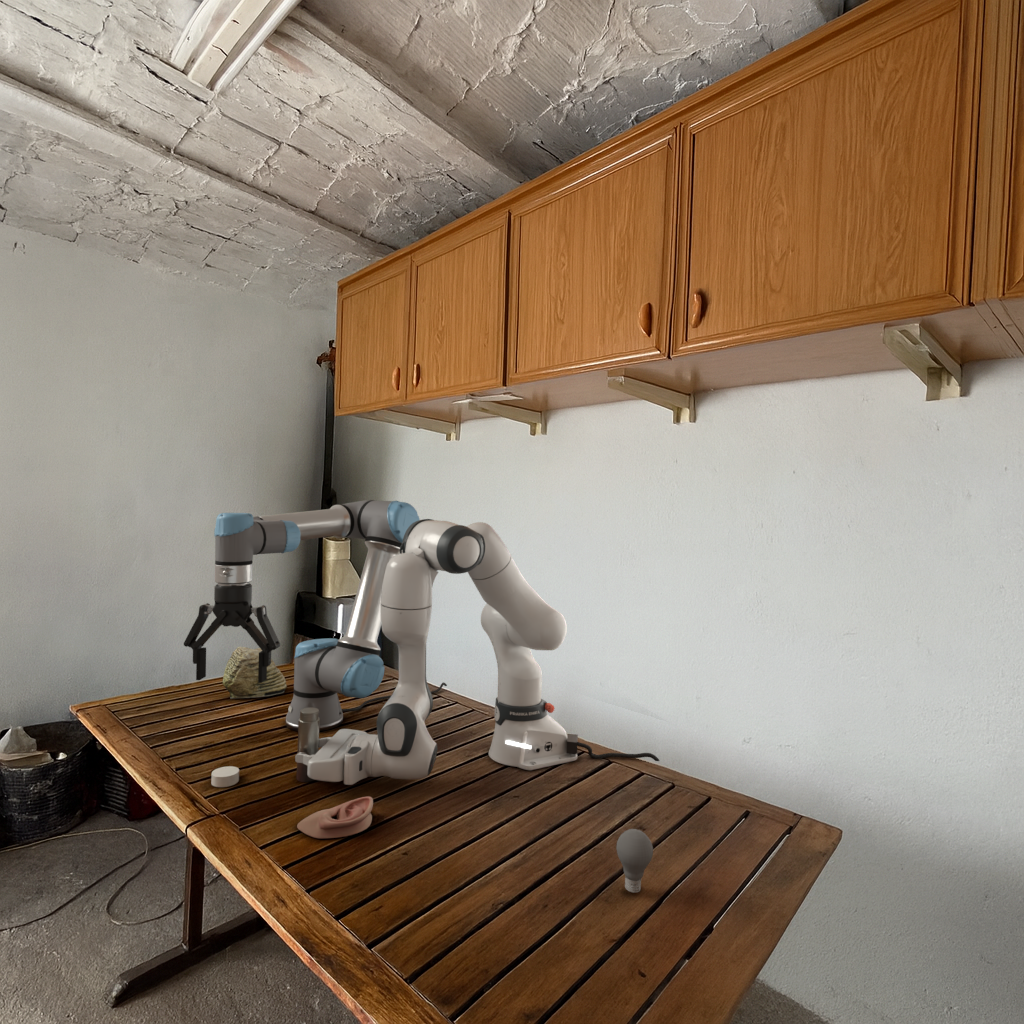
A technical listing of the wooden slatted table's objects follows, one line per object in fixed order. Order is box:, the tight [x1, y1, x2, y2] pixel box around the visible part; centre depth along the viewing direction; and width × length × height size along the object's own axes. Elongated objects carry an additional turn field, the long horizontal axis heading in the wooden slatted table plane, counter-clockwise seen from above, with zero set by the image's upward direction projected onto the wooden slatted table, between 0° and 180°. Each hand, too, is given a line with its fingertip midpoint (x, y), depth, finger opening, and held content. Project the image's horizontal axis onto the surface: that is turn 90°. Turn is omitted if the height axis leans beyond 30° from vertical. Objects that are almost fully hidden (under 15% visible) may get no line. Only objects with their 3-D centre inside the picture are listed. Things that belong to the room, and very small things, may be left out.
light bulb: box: [615, 828, 654, 894], centre depth 106 cm, size 6×6×10 cm
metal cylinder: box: [296, 708, 320, 783], centre depth 142 cm, size 4×4×15 cm
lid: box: [210, 765, 240, 788], centre depth 139 cm, size 6×6×2 cm
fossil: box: [222, 646, 288, 699], centre depth 198 cm, size 9×18×15 cm, turn 132°
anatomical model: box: [296, 796, 374, 840], centre depth 123 cm, size 13×4×12 cm
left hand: (231, 679), depth 139 cm, fingers open, 13 cm apart
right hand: (304, 749), depth 142 cm, fingers open, 7 cm apart
